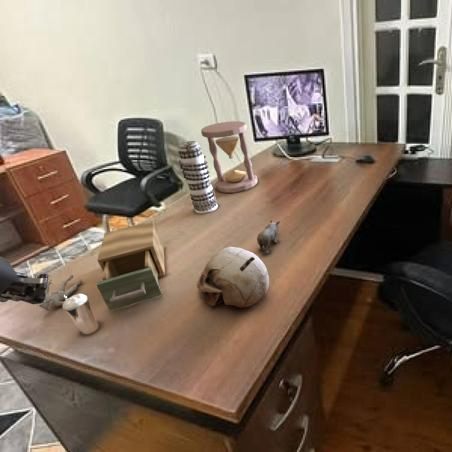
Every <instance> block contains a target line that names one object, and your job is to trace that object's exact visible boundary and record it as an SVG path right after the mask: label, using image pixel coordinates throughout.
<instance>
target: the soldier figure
mask: <svg viewBox="0 0 452 452" xmlns="http://www.w3.org/2000/svg"><path fill="white" fill-rule="evenodd" d="M73 278H74V274H70V276H68V277H67V278H65V280H63V281H61V283H60V284H59V286H58V289H57V290H56V291H53V292H52V293H51V294H49V293H50V285H53V282H52V281H53V279H50V280H48V283H47V289H46V290H45V293H46V297H45V301H44V303H42V304H37V305H38V307H39V308H41V309H44V310H45V311H49V309H50V306H55V307H58V306H59V307H60V306H63V303H64V302H65V301H66V300H65V299H64V298H63V297H62V295H61V294H60V293H63V294H64V295H65V296H66V297H67V298H69V296H70V295H71V294H72V293H74V291H76V290H77V289H78V286H79V285H80V284H82V283H83V280H82V279H79V280H78V281H77V282H75V284H74V285H71V286H70V287H69V288H68V289H67V290H66V287H67V285H68V282H70V281H71V280H72V279H73ZM65 290H66V291H65Z"/></svg>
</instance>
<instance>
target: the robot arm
mask: <svg viewBox="0 0 452 452" xmlns="http://www.w3.org/2000/svg"><path fill="white" fill-rule="evenodd" d="M48 281H49V274H48V273H40V274H39V275H36V276H34V277H29V275H28V274H26V273H23V272H19V271H16V270H15V269H14V267H13V265H12V264H11V262H10V261H9V260H8V259H6V258H5V257H2V256H0V303H7V302H8V301H11V302H15V303H17V302H18V303H19V302H24V303H27V304H31V305H41V304H43V303H44V302H45V297H46V293H45V290H46V289H47V283H48Z"/></svg>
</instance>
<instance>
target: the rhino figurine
mask: <svg viewBox="0 0 452 452" xmlns="http://www.w3.org/2000/svg"><path fill="white" fill-rule="evenodd" d="M269 222H270V223H267V225H266V226H265V227H264V229H263V230H262V231H261V232H259V233H258V235H257V237H256V242H257V244H258V245H259V251H260V252H263V254H264V255H268V254H270V250H269V251H268V249H269V248H268V247H269V245H270V243H271V242H272V244H278V241H277V240H276V238H277V235H278V232H279V225H280V222H281V221H280V220H278V221H277V222H276V221H275V222H274V221H273V220H272V219H270V221H269Z"/></svg>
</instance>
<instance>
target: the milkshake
mask: <svg viewBox="0 0 452 452" xmlns="http://www.w3.org/2000/svg"><path fill="white" fill-rule="evenodd" d="M60 294H61V295H62V297H63V298H64V301H65V302H64V301H63V302H64V303H63V305H62V309H63V310H64V311H65V313H66V314H67V315H68V317H69V318H70V319H71V320H72V322H73V323H74V324H75V326H76V327H77V328H78V330H79V331H80V332H81V333H82V334H83V335H90V334H92V333H95V332H96V331H97V330H98V329H99V322H98V320H97V317H96V315H95V314H94V310H93V309H92V307H91V303H90V300H89V298H88V296H87V295H86V294H83V293H77V294H73V295H71V296H70V297H66V296H65V295H64V294H63V293H60Z"/></svg>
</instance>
